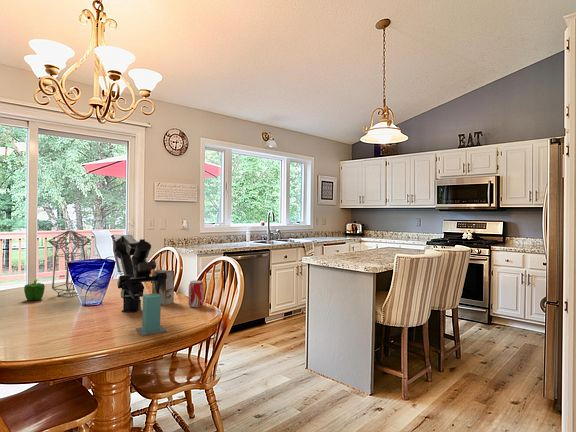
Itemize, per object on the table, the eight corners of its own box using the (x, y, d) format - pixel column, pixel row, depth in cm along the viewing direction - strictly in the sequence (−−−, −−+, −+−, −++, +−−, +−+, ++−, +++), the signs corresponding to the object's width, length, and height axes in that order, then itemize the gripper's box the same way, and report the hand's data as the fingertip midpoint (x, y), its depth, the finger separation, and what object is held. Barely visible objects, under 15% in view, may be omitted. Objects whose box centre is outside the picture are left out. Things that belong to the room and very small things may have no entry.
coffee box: (174, 302, 178) (175, 270, 178) (165, 305, 172) (166, 272, 172) (160, 300, 182) (160, 269, 182) (151, 303, 176) (151, 270, 176)
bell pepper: (36, 302, 173) (36, 281, 173) (20, 301, 174) (20, 281, 174) (48, 297, 182) (48, 278, 182) (32, 297, 182) (33, 278, 182)
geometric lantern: (92, 293, 195) (93, 229, 194) (70, 300, 179) (71, 231, 178) (67, 291, 197) (68, 228, 196) (43, 298, 182) (44, 230, 181)
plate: (135, 329, 136) (135, 328, 136) (159, 325, 141) (159, 324, 141) (141, 336, 129) (141, 334, 129) (166, 331, 134) (166, 330, 134)
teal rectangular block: (142, 328, 135) (143, 294, 135) (156, 326, 138) (156, 293, 138) (146, 332, 131) (146, 297, 131) (160, 329, 134) (160, 295, 134)
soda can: (199, 308, 168) (199, 283, 168) (185, 307, 169) (186, 282, 169) (205, 304, 174) (206, 280, 174) (192, 303, 176) (193, 279, 176)
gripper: (119, 255, 141) (124, 288, 132) (166, 253, 152) (174, 283, 143) (115, 272, 148) (120, 304, 139) (160, 268, 159) (167, 298, 150)
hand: (146, 297), depth 143 cm, fingers open, 9 cm apart
